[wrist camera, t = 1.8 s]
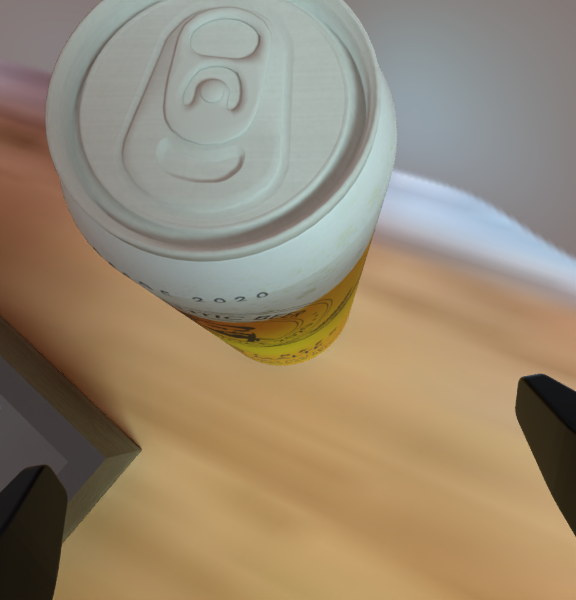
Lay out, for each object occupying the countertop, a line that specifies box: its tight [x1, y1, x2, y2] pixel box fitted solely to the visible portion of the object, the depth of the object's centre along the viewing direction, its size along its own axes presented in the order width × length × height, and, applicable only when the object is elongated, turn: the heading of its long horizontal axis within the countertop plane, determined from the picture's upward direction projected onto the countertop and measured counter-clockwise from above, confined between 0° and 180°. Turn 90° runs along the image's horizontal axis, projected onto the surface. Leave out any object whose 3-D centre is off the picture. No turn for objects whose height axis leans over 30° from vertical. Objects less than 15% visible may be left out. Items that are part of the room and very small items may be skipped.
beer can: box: [45, 0, 397, 365], centre depth 15 cm, size 6×6×15 cm
